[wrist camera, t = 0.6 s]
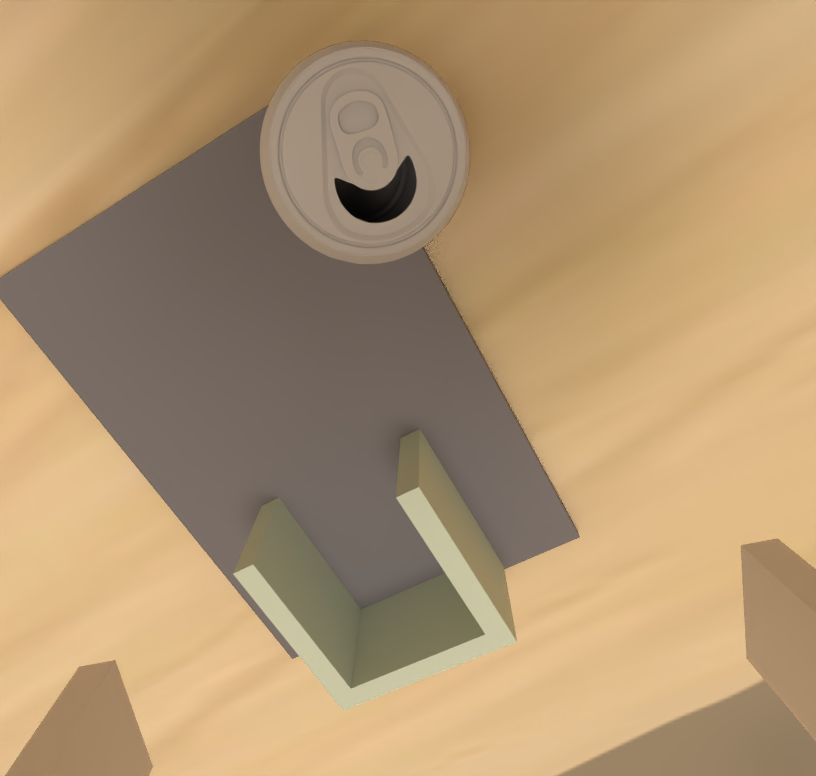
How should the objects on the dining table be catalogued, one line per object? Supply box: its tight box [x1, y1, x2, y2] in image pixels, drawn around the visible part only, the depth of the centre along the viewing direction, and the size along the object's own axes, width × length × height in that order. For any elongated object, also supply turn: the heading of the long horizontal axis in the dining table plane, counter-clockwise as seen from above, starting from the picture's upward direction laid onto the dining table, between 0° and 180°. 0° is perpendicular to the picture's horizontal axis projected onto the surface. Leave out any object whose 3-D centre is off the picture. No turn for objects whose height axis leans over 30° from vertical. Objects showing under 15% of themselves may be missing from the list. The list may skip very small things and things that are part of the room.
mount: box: [0, 105, 580, 711], centre depth 32 cm, size 20×28×7 cm
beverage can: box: [260, 41, 470, 264], centre depth 24 cm, size 6×6×12 cm
